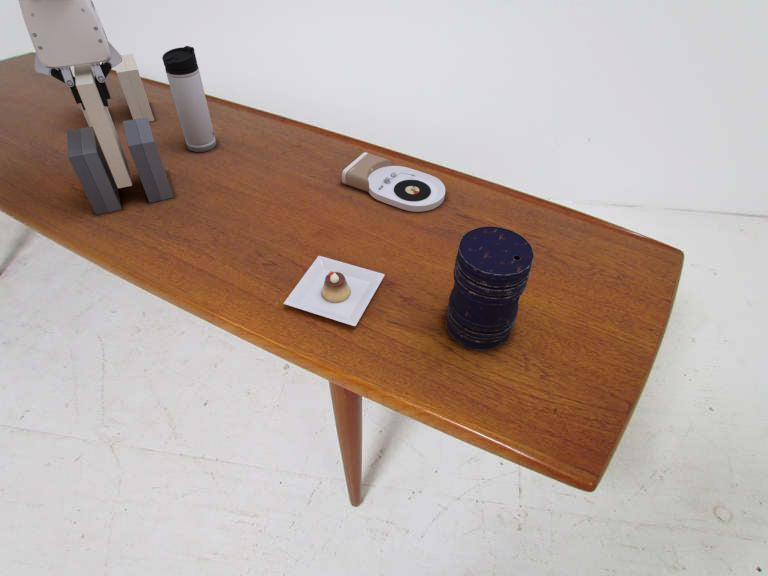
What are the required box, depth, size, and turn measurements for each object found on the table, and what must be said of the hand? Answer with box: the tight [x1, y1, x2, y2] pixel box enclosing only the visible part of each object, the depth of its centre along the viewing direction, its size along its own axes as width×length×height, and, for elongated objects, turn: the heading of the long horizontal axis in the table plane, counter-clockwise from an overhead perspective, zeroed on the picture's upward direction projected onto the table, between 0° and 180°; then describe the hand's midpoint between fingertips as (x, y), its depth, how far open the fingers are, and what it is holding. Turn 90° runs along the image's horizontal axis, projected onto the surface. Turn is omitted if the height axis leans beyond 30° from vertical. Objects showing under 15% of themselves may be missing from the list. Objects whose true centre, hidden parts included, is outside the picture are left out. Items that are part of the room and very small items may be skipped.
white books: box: [70, 53, 155, 127], centre depth 115 cm, size 14×10×12 cm
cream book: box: [74, 64, 133, 189], centre depth 87 cm, size 2×10×19 cm, turn 25°
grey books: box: [66, 117, 174, 216], centre depth 93 cm, size 14×10×12 cm
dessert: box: [283, 255, 386, 327], centre depth 77 cm, size 12×12×5 cm
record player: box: [341, 151, 446, 213], centre depth 99 cm, size 12×3×20 cm
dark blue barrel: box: [445, 225, 535, 351], centre depth 70 cm, size 10×10×15 cm
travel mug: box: [161, 45, 217, 153], centre depth 103 cm, size 6×7×20 cm
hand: (95, 104), depth 85 cm, fingers closed on cream book, 2 cm apart
